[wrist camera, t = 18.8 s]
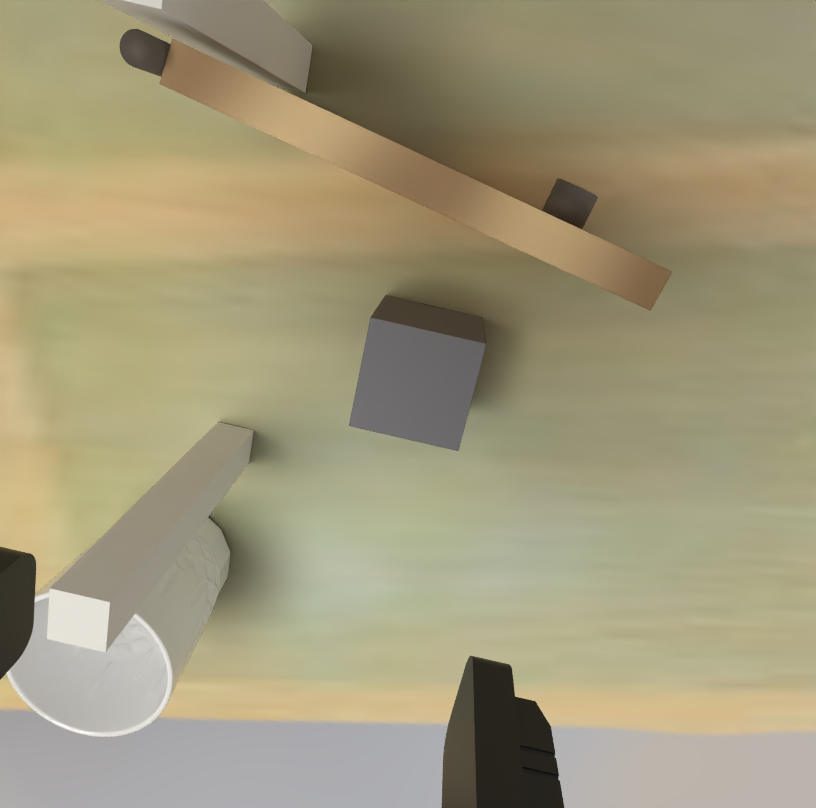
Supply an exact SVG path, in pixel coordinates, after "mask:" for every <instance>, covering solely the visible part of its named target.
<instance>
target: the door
mask: <svg viewBox="0 0 816 808" xmlns="http://www.w3.org/2000/svg"><path fill="white" fill-rule="evenodd" d="M120 52H121V55H122V57H123V59H124V60H125V61H126V62H127V63H128V64H129V65H131V66H133V67H136V68H138V69H141V70H144V71H147V72H150V73H153V74H155V75H158V76H161V80H160V84H161V85H163V86H165V87H167V88H170V89H172V90H174V91H176V92H178V93H180V94H182V95H185V96H187V97H189V98H191V99H193V100H195V101H198V102H200V103H202V104H204V105H206V106H208V107H211V108H213V109H215V110H217V111H219V112H221V113H224V114H226V115H228V116H230V117H232V118H234V119H237V120H239V121H241V122H243V123H245V124H247V125H250V126H252V127H254V128H256V129H258V130H260V131H263V132H265V133H267V134H269V135H271V136H273V137H276V138H278V139H280V140H282V141H284V142H286V143H289V144H291V145H293V146H295V147H297V148H299V149H302V150H304V151H306V152H308V153H310V154H312V155H315V156H317V157H319V158H321V159H323V160H325V161H328V162H330V163H332V164H334V165H336V166H338V167H341V168H343V169H345V170H347V171H349V172H351V173H354V174H356V175H358V176H360V177H362V178H364V179H367V180H369V181H371V182H373V183H375V184H377V185H380V186H382V187H384V188H386V189H388V190H390V191H393V192H395V193H397V194H399V195H401V196H403V197H406V198H408V199H410V200H412V201H414V202H416V203H419V204H421V205H423V206H425V207H427V208H429V209H432V210H434V211H436V212H438V213H440V214H442V215H445V216H447V217H449V218H451V219H453V220H455V221H458V222H460V223H462V224H464V225H466V226H468V227H471V228H473V229H475V230H477V231H479V232H481V233H483V234H486V235H488V236H490V237H492V238H494V239H496V240H499V241H501V242H503V243H505V244H507V245H509V246H512V247H514V248H516V249H518V250H520V251H522V252H525V253H527V254H529V255H531V256H533V257H535V258H538V259H540V260H542V261H544V262H546V263H548V264H551V265H553V266H555V267H557V268H559V269H561V270H564V271H566V272H568V273H570V274H572V275H574V276H577V277H579V278H581V279H583V280H585V281H587V282H590V283H592V284H594V285H596V286H598V287H600V288H603V289H605V290H607V291H609V292H611V293H613V294H616V295H618V296H620V297H622V298H624V299H626V300H629V301H631V302H633V303H635V304H637V305H639V306H642V307H644V308H646V309H648V310H650V311H651V309H652V307H653V305H654V304H655V302H656V300H657V298H658V297H659V295H660V293H661V291H662V290H663V288H664V286H665V284H666V282H667V281H668V279H669V277H670V275H671V274H672V271H669V270H667V269H665V268H663V267H661V266H659V265H657V264H654V263H652V262H650V261H648V260H646V259H644V258H642V257H639V256H637V255H635V254H633V253H631V252H629V251H627V250H624V249H622V248H620V247H618V246H616V245H614V244H612V243H609V242H607V241H605V240H603V239H601V238H599V237H597V236H594V235H592V234H590V233H588V232H586V231H584V230H582V228H583V226H584V224H585V222H586V220H587V218H588V216H589V214H590V212H591V210H592V208H593V206H594V204H595V202H596V201H597V199H598V197H597V196H596V195H594V194H592V193H590V192H588V191H586V190H584V189H582V188H580V187H578V186H576V185H573V184H571V183H569V182H566V181H564V180H561V179H557V181H556V183H555V185H554V187H553V189H552V191H551V193H550V195H549V197H548V199H547V201H546V204H545V206H544V208H543V210H542V211H541V210H539V209H537V208H534V207H532V206H530V205H528V204H526V203H524V202H522V201H519V200H517V199H515V198H513V197H511V196H509V195H507V194H504V193H502V192H500V191H498V190H496V189H494V188H492V187H489V186H487V185H485V184H483V183H481V182H479V181H477V180H474V179H472V178H470V177H468V176H466V175H464V174H462V173H459V172H457V171H455V170H453V169H451V168H449V167H447V166H444V165H442V164H440V163H438V162H436V161H434V160H432V159H429V158H427V157H425V156H423V155H421V154H419V153H417V152H414V151H412V150H410V149H408V148H406V147H404V146H402V145H399V144H397V143H395V142H393V141H391V140H389V139H387V138H384V137H382V136H380V135H378V134H376V133H374V132H372V131H369V130H367V129H365V128H363V127H361V126H359V125H357V124H354V123H352V122H350V121H348V120H346V119H344V118H342V117H339V116H337V115H335V114H333V113H331V112H329V111H327V110H324V109H322V108H320V107H318V106H316V105H314V104H312V103H309V102H307V101H305V100H303V99H301V98H299V97H297V96H294V95H292V94H290V93H288V92H286V91H284V90H282V89H279V88H277V87H275V86H273V85H271V84H269V83H267V82H264V81H262V80H260V79H258V78H256V77H254V76H252V75H249V74H247V73H245V72H243V71H241V70H239V69H237V68H234V67H232V66H230V65H228V64H226V63H224V62H222V61H219V60H217V59H215V58H213V57H211V56H209V55H207V54H204V53H202V52H200V51H198V50H196V49H194V48H192V47H190V46H187V45H185V44H183V43H181V42H179V41H177V40H175V39H172V42H171V44H169V43H167V42H164V41H162V40H160V39H158V38H156V37H154V36H152V35H150V34H148V33H146V32H144V31H141V30H138V29H131V30H128V31H127V32H126V33H125V34H124V35H123V36H122V38H121V41H120ZM543 211H544V212H543ZM545 212H546V213H545ZM547 213H548V214H547ZM549 214H551V215H549ZM552 215H553V216H552ZM554 216H555V217H554ZM556 217H557V218H556ZM558 218H559V219H558ZM560 219H561V220H560ZM562 220H563V221H562ZM564 221H566V222H564ZM567 222H568V223H567ZM569 223H570V224H569ZM571 224H572V225H571ZM573 225H574V226H573ZM575 226H577V227H579V228H581V229H579V228H577V227H575Z"/></svg>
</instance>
